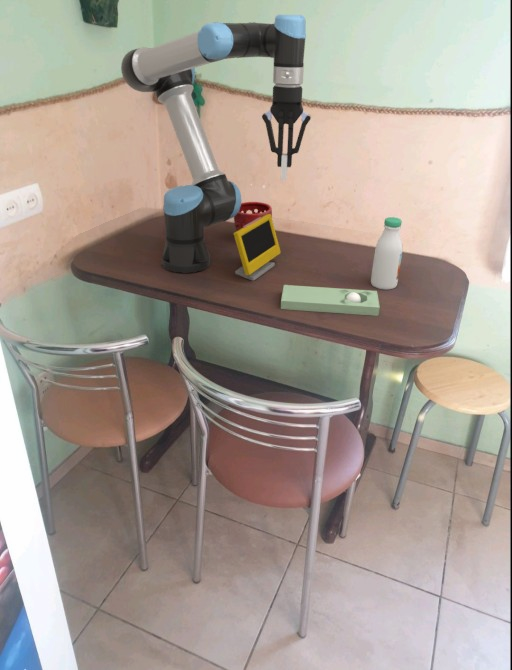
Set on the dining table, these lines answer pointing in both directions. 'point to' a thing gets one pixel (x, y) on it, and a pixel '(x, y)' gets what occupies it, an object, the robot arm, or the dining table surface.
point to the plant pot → (246, 218)
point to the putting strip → (329, 300)
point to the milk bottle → (387, 256)
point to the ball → (353, 297)
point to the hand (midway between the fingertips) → (283, 178)
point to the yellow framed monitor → (257, 247)
